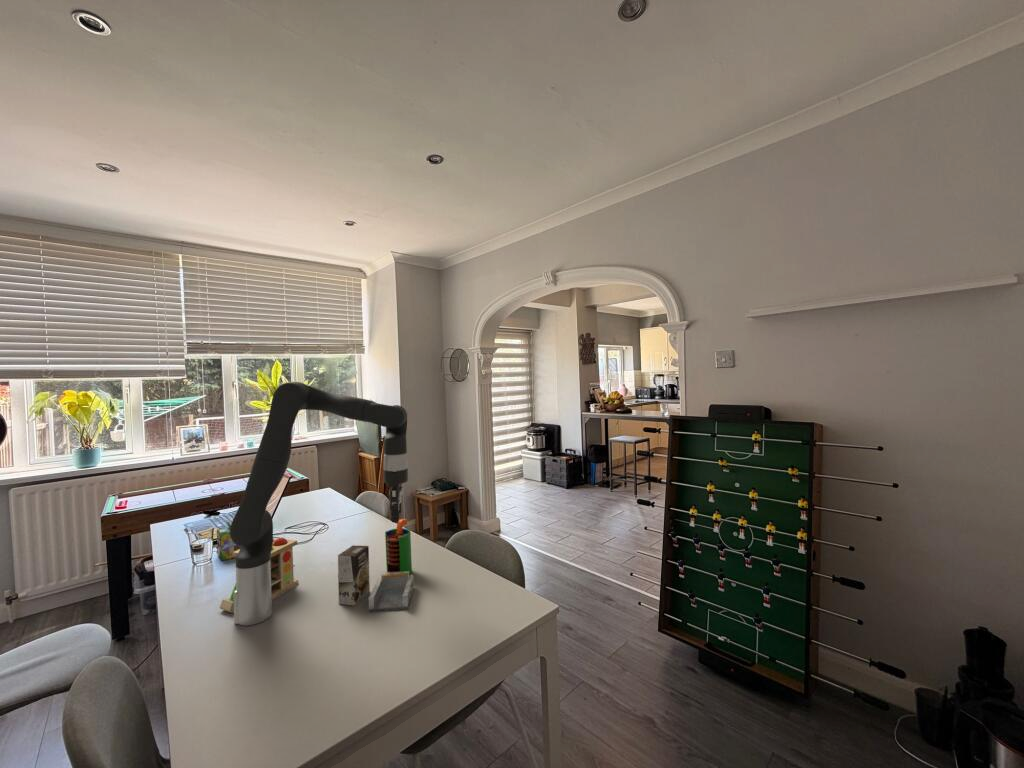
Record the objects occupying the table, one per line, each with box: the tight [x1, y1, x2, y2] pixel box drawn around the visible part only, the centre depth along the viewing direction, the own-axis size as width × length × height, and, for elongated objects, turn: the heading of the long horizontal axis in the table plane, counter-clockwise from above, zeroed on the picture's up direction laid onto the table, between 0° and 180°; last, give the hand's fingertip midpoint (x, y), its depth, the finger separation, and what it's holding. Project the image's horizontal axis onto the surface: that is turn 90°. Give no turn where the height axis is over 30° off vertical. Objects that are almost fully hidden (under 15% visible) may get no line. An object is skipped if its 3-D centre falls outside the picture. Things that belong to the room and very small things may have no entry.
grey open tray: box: [368, 571, 415, 613], centre depth 140 cm, size 12×14×6 cm
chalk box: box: [216, 520, 241, 562], centre depth 180 cm, size 9×9×15 cm
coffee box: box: [337, 544, 371, 606], centre depth 141 cm, size 9×6×16 cm
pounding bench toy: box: [219, 537, 299, 614], centre depth 144 cm, size 23×14×18 cm, turn 164°
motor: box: [384, 518, 413, 575], centre depth 159 cm, size 10×9×20 cm
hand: (396, 517), depth 136 cm, fingers open, 8 cm apart
